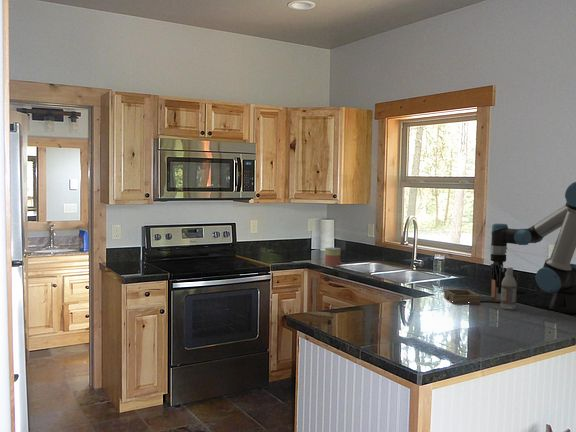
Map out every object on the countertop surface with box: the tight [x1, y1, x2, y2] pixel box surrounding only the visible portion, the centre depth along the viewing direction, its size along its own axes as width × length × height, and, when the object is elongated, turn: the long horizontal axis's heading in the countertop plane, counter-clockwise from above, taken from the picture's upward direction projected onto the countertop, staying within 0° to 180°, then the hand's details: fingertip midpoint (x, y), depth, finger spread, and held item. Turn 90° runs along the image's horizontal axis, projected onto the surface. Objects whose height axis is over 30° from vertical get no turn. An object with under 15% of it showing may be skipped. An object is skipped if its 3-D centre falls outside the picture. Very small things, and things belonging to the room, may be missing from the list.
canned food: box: [324, 247, 342, 267], centre depth 401 cm, size 11×11×12 cm
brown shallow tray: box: [443, 288, 481, 306], centre depth 285 cm, size 15×13×4 cm
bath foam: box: [500, 267, 517, 311], centre depth 270 cm, size 7×7×20 cm
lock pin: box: [480, 279, 501, 303], centre depth 285 cm, size 4×22×11 cm, turn 91°
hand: (496, 298), depth 286 cm, fingers closed on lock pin, 5 cm apart
